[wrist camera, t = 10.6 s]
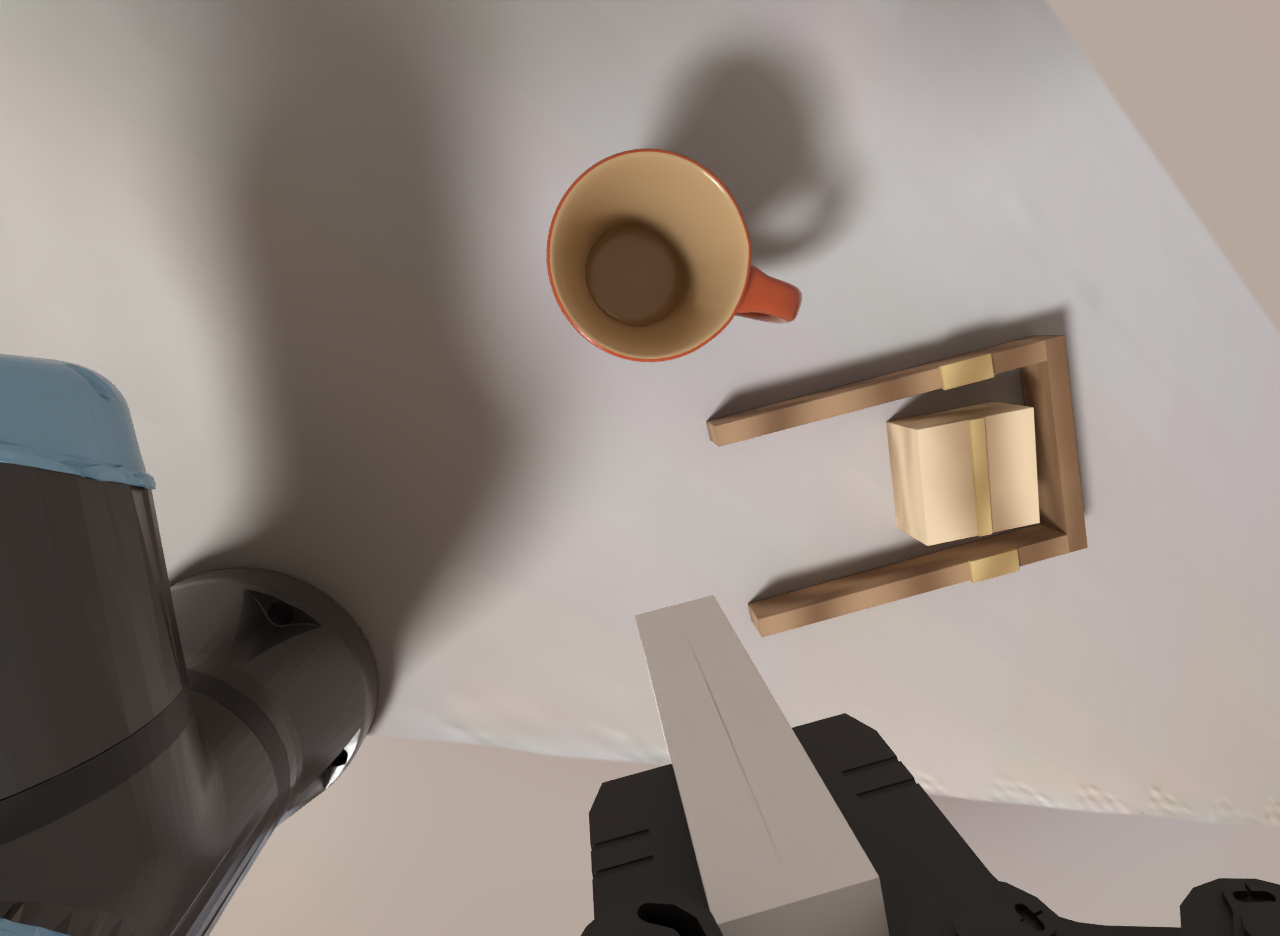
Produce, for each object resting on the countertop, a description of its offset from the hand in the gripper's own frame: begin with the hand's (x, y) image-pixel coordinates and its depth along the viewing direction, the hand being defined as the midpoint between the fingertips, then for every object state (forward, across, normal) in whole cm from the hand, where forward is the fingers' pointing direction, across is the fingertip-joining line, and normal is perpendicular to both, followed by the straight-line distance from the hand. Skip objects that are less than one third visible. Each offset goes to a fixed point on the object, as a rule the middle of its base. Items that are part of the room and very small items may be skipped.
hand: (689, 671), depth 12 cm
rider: (+28, +21, -6) cm, 35 cm away
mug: (+28, +5, +8) cm, 30 cm away
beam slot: (+28, +16, -7) cm, 33 cm away
